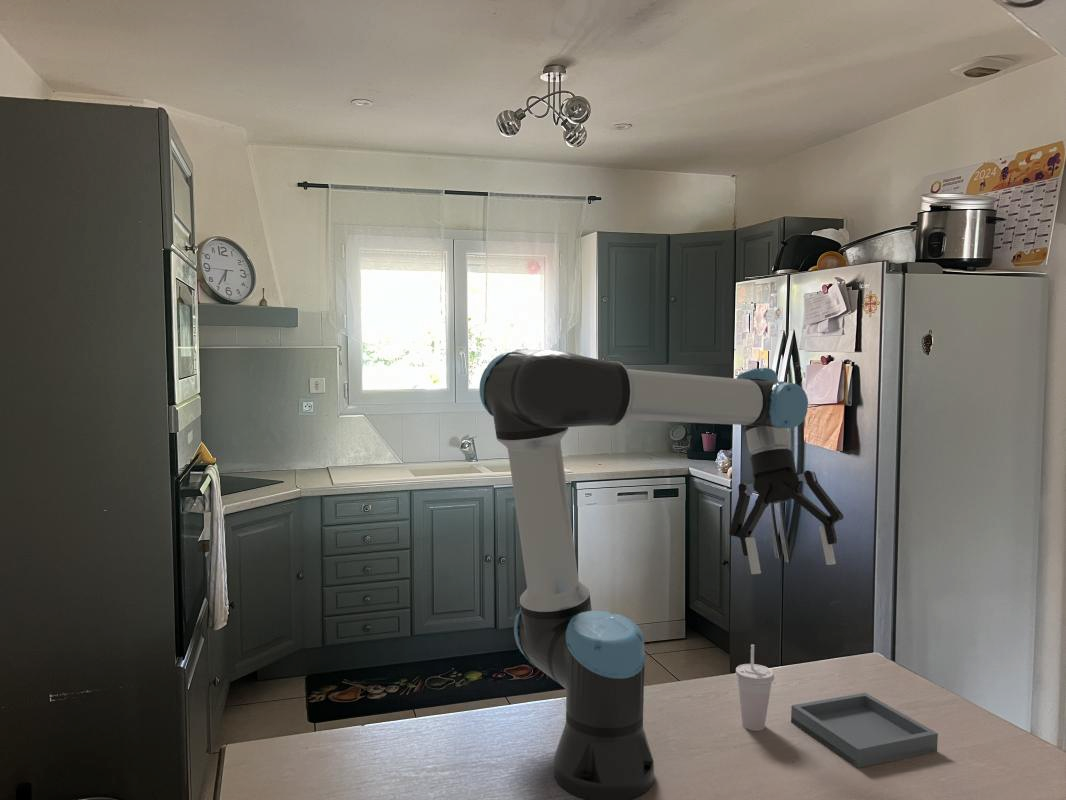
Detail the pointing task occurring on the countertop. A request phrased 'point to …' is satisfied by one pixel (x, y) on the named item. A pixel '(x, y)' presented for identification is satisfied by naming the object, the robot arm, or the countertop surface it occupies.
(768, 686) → the smoothie
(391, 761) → the countertop surface
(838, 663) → the countertop surface
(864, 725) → the tray
